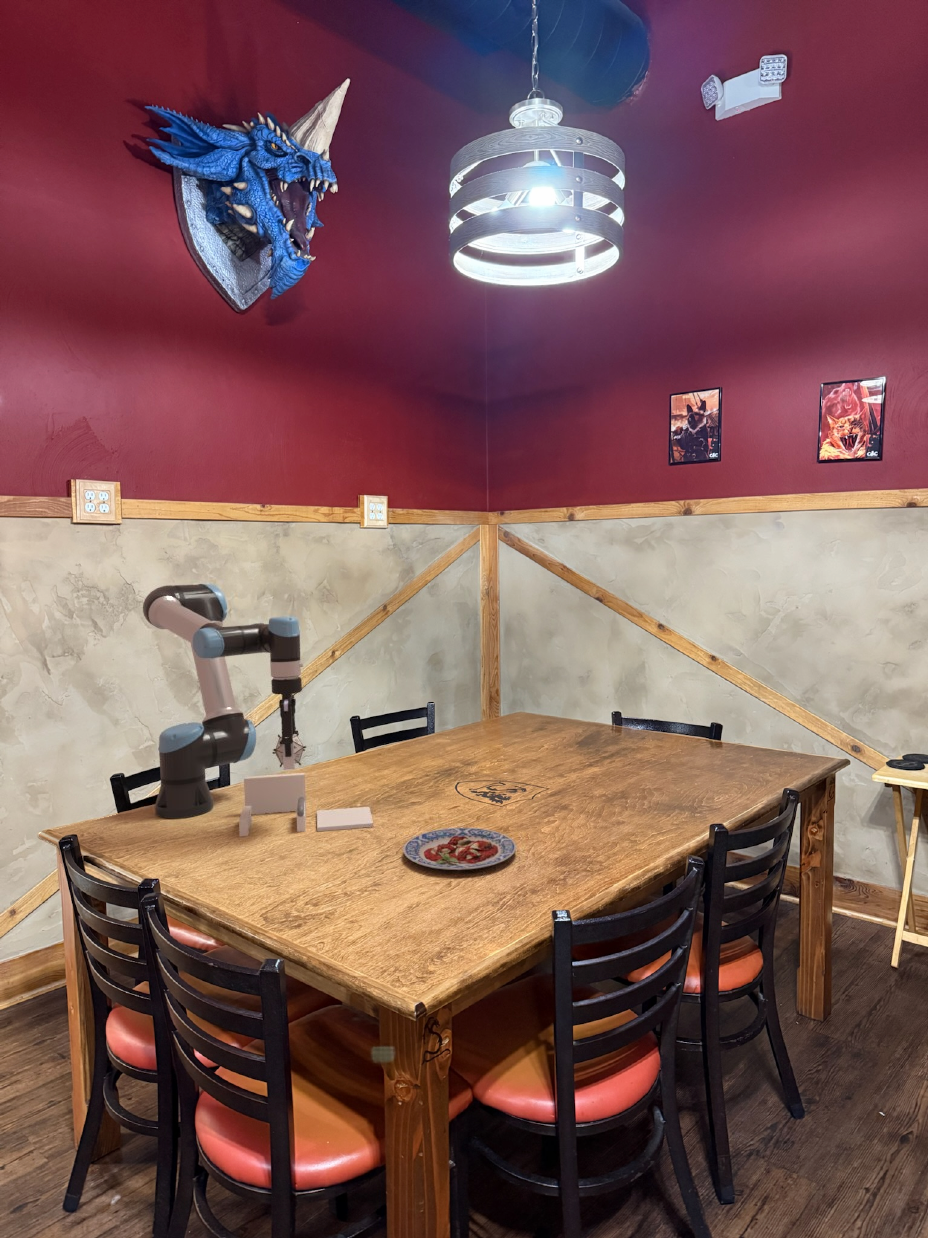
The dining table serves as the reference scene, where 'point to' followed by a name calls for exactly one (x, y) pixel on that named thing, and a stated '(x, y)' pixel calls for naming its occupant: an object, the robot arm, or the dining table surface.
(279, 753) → the game die
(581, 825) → the dining table surface
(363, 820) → the mat
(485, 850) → the ceramic plate
